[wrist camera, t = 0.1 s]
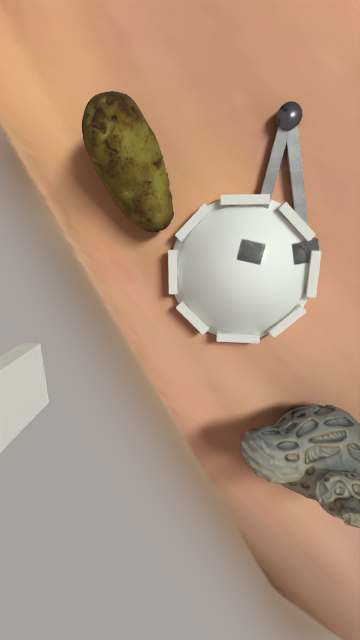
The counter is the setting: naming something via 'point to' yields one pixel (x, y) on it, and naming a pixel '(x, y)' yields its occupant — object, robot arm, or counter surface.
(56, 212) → the counter surface
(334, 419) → the teapot
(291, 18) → the counter surface
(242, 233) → the plate
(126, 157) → the potato
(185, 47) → the counter surface
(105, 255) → the counter surface
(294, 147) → the open tongs prop
